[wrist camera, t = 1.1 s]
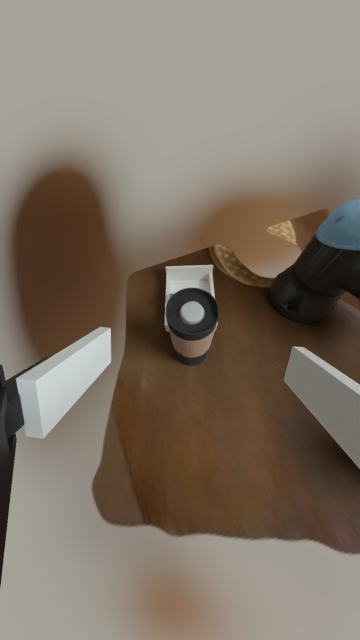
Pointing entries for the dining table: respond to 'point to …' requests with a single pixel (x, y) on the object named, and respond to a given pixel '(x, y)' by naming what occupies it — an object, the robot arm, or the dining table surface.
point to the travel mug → (192, 323)
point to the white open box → (188, 280)
